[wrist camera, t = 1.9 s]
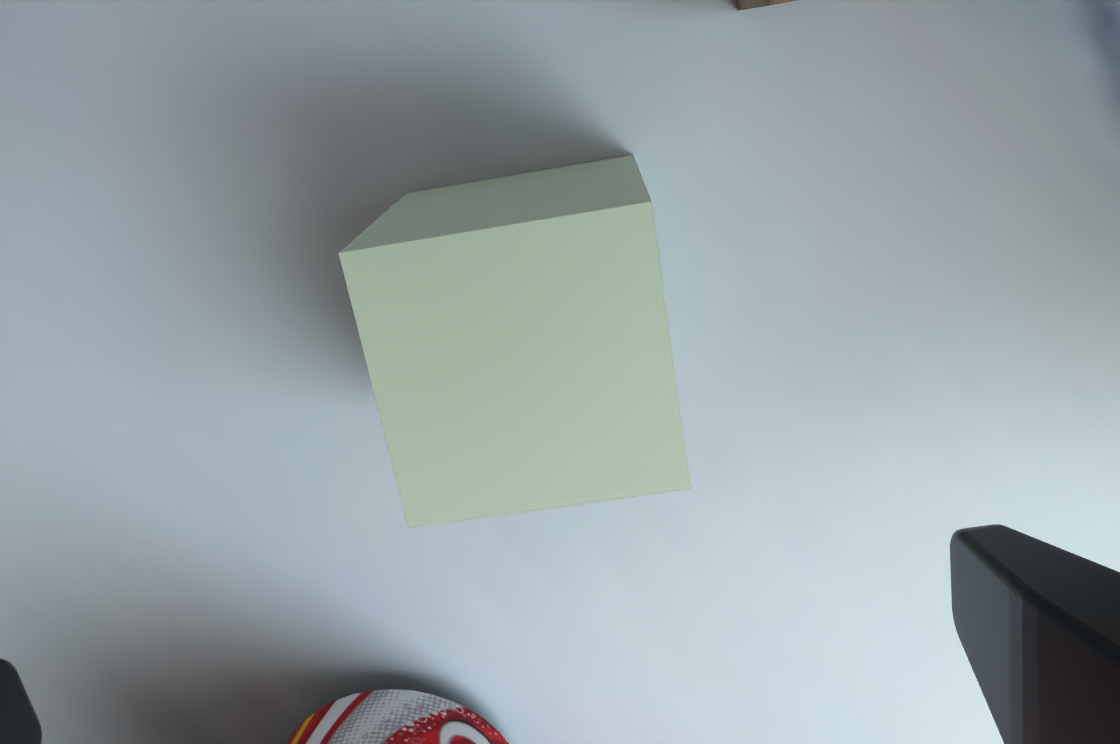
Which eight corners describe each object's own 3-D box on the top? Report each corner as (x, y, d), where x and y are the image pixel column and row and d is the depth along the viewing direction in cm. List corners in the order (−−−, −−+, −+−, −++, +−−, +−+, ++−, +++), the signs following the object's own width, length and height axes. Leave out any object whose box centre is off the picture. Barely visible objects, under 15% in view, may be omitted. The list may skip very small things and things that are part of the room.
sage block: (633, 154, 20) (651, 201, 14) (663, 371, 22) (690, 489, 16) (406, 193, 20) (338, 253, 15) (453, 401, 22) (408, 527, 16)
